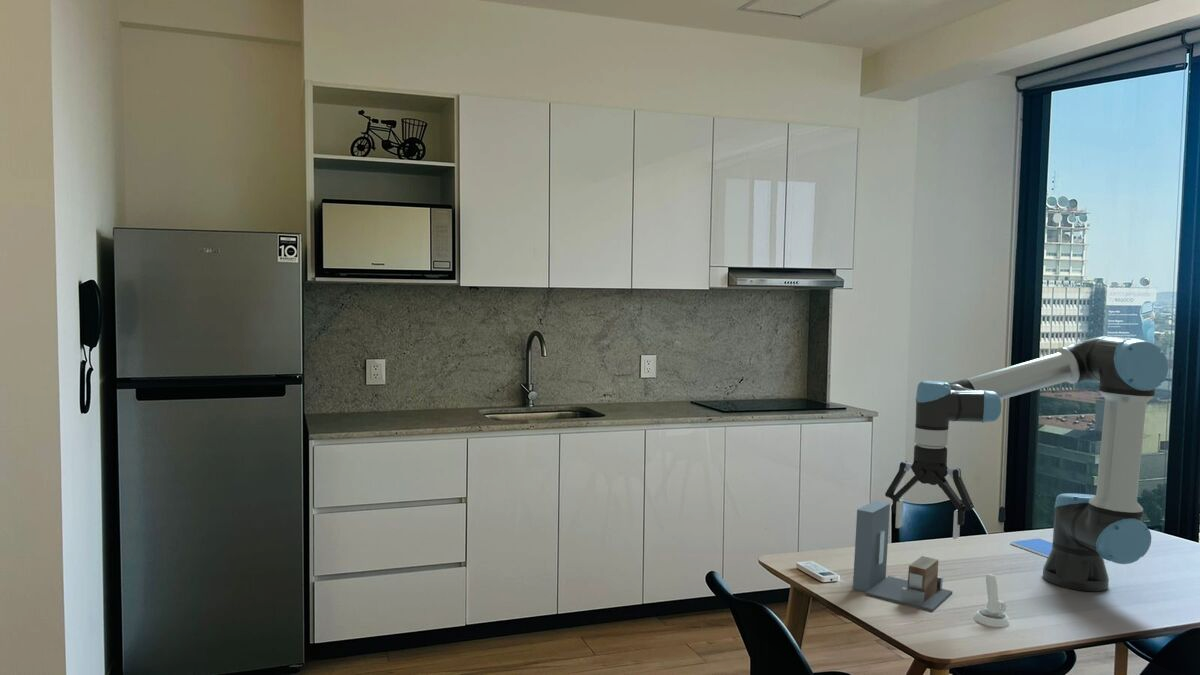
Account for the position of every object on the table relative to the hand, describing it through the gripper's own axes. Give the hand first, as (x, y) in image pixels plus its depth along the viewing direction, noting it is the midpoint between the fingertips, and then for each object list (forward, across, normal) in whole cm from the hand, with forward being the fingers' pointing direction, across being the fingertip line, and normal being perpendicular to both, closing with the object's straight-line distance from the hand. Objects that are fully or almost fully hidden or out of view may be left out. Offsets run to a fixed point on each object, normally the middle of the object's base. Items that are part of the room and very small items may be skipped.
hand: (926, 532), depth 213 cm
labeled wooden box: (+16, 0, 0) cm, 16 cm away
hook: (+17, -17, +4) cm, 24 cm away
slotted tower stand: (+16, +5, 0) cm, 17 cm away
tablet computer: (+18, -16, -64) cm, 69 cm away
